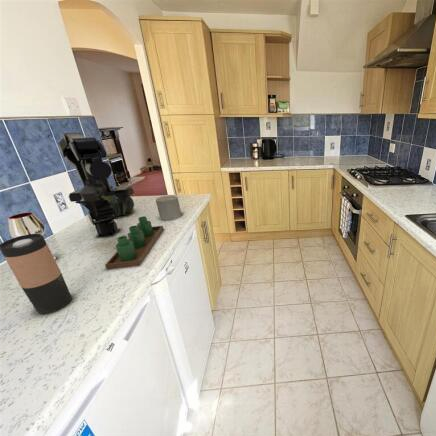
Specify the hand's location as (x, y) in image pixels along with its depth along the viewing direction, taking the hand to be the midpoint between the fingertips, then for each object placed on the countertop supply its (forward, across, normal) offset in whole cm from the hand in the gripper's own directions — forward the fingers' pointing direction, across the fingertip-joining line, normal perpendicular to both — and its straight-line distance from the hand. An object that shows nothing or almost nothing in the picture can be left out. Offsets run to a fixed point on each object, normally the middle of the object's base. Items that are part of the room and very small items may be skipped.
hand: (110, 215), depth 92 cm
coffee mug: (+13, +12, +29) cm, 34 cm away
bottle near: (+13, +8, +6) cm, 17 cm away
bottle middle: (+13, +8, -3) cm, 15 cm away
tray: (+13, +8, -3) cm, 15 cm away
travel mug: (+13, -3, -33) cm, 36 cm away
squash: (+13, -15, +37) cm, 42 cm away
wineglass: (+13, -22, -7) cm, 27 cm away
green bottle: (+12, +8, -12) cm, 19 cm away
